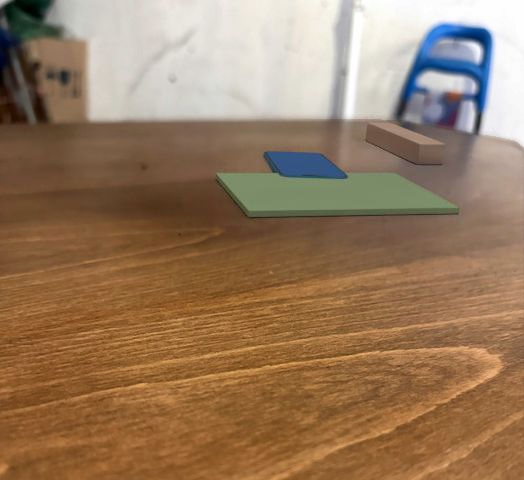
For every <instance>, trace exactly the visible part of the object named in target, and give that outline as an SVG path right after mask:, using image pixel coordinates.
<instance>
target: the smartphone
mask: <svg viewBox="0 0 524 480" xmlns="http://www.w3.org/2000/svg"><path fill="white" fill-rule="evenodd" d="M263 158H264V159H265V161H266V162H267V165H268V166H269V168H270V169H271V171H272V173H278V174H279V175H280V176H283V177H291V178H324V179H346V178H348V175H346V174H345V173H346V172H344V171H343V170H342V169H340V168H339V167H338V166H337V165H336V164H335V163H334V162H332V161H331V159H329V158H327V156H325V155H324V154H323V153H319V152H305V151H304V152H303V151H276V150H275V151H274V150H268V151H267V150H265V151H263Z"/></svg>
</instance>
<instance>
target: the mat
mask: <svg viewBox="0 0 524 480" xmlns="http://www.w3.org/2000/svg"><path fill="white" fill-rule="evenodd" d="M344 173H345V174H346V175H348V178H346V179H324V178H291V177H283V176H280V175H279V174H278V173H274V172H215V180H216V181H217V182H218V183H219V184H220V186H221V187H222V188H223V189H224V190H225V191H226V193H227V194H228V195H229V197H231V198H232V200H233V201H234V202H235V203H236V204H237V206H238V207H239V208H240V209H241V211H243V213H244V214H245V215H246V217H248V218H284V217H285V218H287V217H289V218H291V217H294V218H295V217H341V216H346V217H347V216H348V217H349V216H351V217H352V216H397V215H398V216H401V215H403V216H404V215H458V214H459V212H460V207H459V206H457V205H456V204H454V203H452V202H451V201H449V200H446V199H444V198H442V197H441V196H439V195H437V194H435V193H433V192H432V191H429V190H428V189H426V188H423V187H421V186H420V185H418V184H417V183H414V182H412V181H411V180H409V179H407V178H405V177H403V176H402V175H400V174H398V173H396V172H344Z"/></svg>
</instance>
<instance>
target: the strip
mask: <svg viewBox="0 0 524 480" xmlns="http://www.w3.org/2000/svg"><path fill="white" fill-rule="evenodd" d="M366 125H367V126H366V133H365V141H366V142H368V143H371V144H372V145H374V146H377V147H378V148H381V149H383V150H385V151H387V152H389V153H391V154H393V155H394V156H398V157H400V158H402V159H403V160H406V161H408V162H410V163H412V164H415V165H417V166H421V165H423V166H424V165H425V166H428V165H429V166H442V165H443V161H444V156H445V150H446V143H445V142H444V143H443V142H441V141H439V140H436V139H433V138H431V137H428V136H425V135H423V134H421V133H418V132H415V131H412V130H410V129H407V128H405V127H402V126H400V125H398V124H394V123H392V122H379V121H378V122H377V121H376V122H375V121H373V122H371V121H369V122H368V121H367V124H366Z"/></svg>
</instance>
